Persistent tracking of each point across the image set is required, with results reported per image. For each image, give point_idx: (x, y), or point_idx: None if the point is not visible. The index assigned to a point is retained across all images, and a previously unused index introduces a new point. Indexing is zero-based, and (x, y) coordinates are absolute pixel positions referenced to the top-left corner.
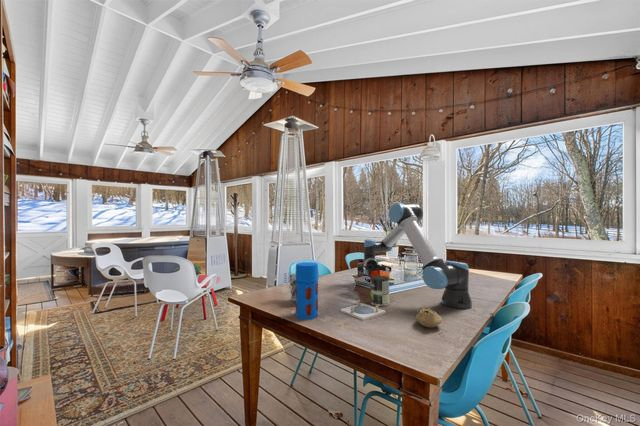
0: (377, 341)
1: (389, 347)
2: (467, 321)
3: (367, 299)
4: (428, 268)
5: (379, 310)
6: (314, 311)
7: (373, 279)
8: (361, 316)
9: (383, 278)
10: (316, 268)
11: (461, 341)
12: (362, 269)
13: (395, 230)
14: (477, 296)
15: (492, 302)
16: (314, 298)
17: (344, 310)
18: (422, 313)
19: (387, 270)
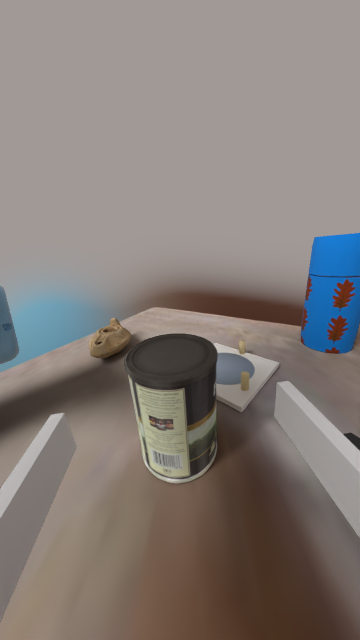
0: (191, 320)
1: (180, 317)
2: (29, 369)
3: (240, 492)
4: (4, 291)
5: None
6: (301, 326)
7: (198, 337)
8: (219, 346)
9: (155, 346)
10: (313, 245)
11: None
12: (346, 436)
13: None
14: None
15: None
16: (304, 304)
17: (264, 359)
18: (121, 326)
19: (59, 435)
